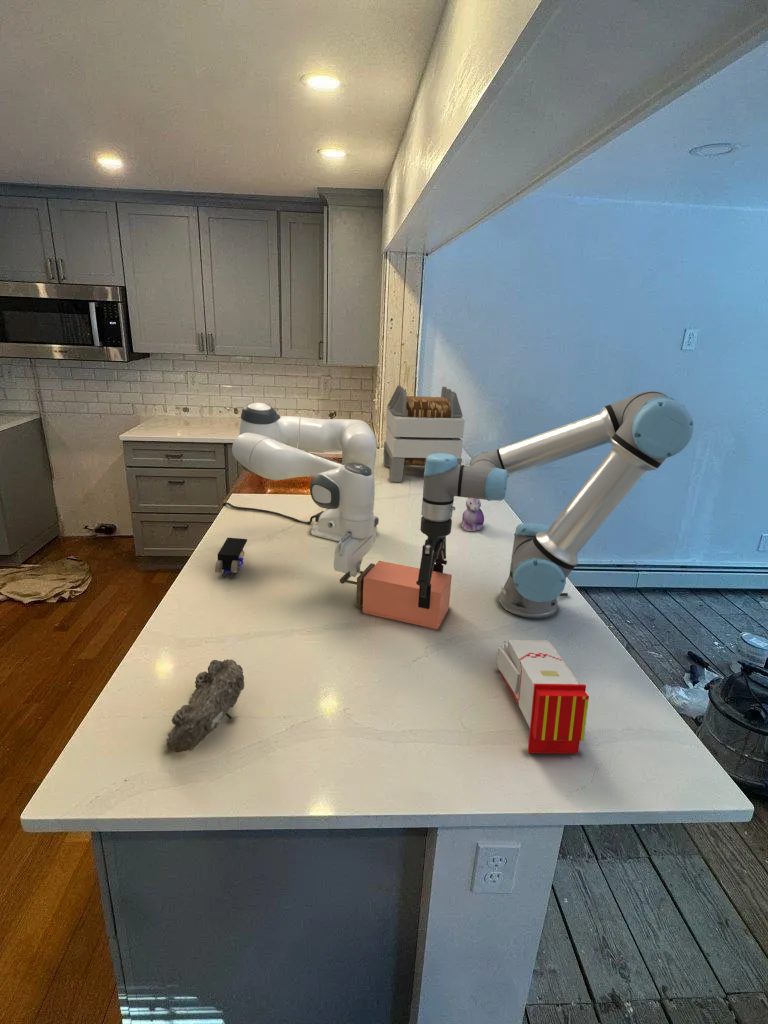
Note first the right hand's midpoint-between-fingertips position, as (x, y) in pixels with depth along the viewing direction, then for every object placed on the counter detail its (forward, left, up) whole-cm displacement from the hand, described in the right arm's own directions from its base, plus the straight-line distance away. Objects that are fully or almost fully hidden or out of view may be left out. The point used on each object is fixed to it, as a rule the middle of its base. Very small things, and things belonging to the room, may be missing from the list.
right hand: (430, 597), depth 145 cm
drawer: (+10, -6, -5) cm, 12 cm away
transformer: (-28, -133, -5) cm, 136 cm away
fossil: (+51, +33, -5) cm, 61 cm away
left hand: (+18, -10, +2) cm, 21 cm away
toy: (-13, +37, -5) cm, 39 cm away
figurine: (-32, -61, -5) cm, 69 cm away
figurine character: (+52, -32, -5) cm, 61 cm away
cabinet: (+5, -3, -5) cm, 8 cm away
